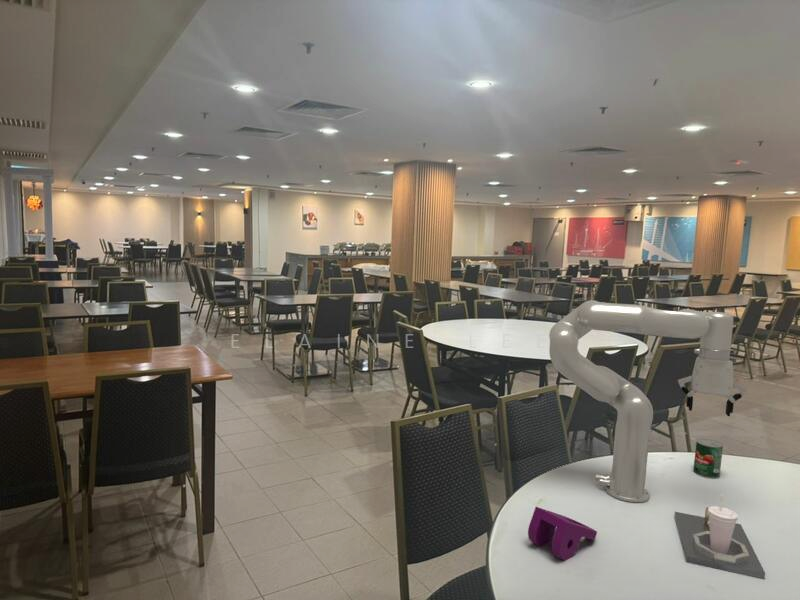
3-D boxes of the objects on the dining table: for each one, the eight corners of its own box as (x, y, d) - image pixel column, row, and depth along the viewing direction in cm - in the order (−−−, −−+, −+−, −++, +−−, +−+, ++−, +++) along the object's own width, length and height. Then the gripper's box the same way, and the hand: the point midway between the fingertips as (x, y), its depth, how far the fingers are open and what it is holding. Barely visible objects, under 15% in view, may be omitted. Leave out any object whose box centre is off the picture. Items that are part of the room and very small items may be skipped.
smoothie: (707, 539, 136) (712, 486, 135) (736, 549, 132) (742, 495, 131) (701, 549, 131) (707, 495, 130) (731, 560, 127) (737, 504, 126)
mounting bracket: (561, 549, 143) (524, 539, 132) (572, 518, 144) (535, 506, 133) (593, 567, 135) (556, 558, 124) (604, 534, 137) (568, 522, 126)
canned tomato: (691, 474, 182) (694, 442, 181) (695, 467, 188) (698, 436, 187) (718, 481, 177) (721, 448, 176) (721, 473, 183) (724, 442, 182)
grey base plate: (686, 561, 129) (688, 540, 128) (674, 516, 151) (676, 497, 150) (764, 579, 123) (767, 556, 122) (740, 529, 145) (742, 510, 145)
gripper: (681, 353, 155) (676, 410, 157) (752, 360, 149) (745, 420, 150) (680, 349, 162) (674, 404, 164) (747, 356, 155) (740, 413, 157)
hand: (708, 412), depth 157 cm, fingers open, 9 cm apart
